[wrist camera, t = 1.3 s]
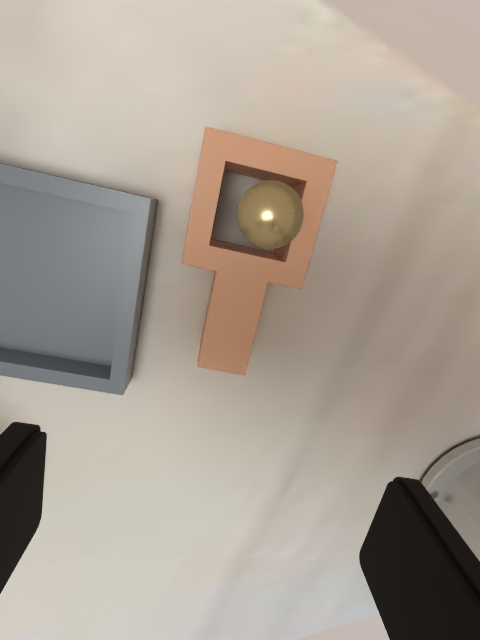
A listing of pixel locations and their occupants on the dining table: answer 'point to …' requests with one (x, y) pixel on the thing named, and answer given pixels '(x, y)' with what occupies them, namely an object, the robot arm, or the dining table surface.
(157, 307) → the dining table surface
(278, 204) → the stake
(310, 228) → the orange flat handled frame
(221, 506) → the dining table surface
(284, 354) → the dining table surface
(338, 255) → the dining table surface
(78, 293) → the tray
